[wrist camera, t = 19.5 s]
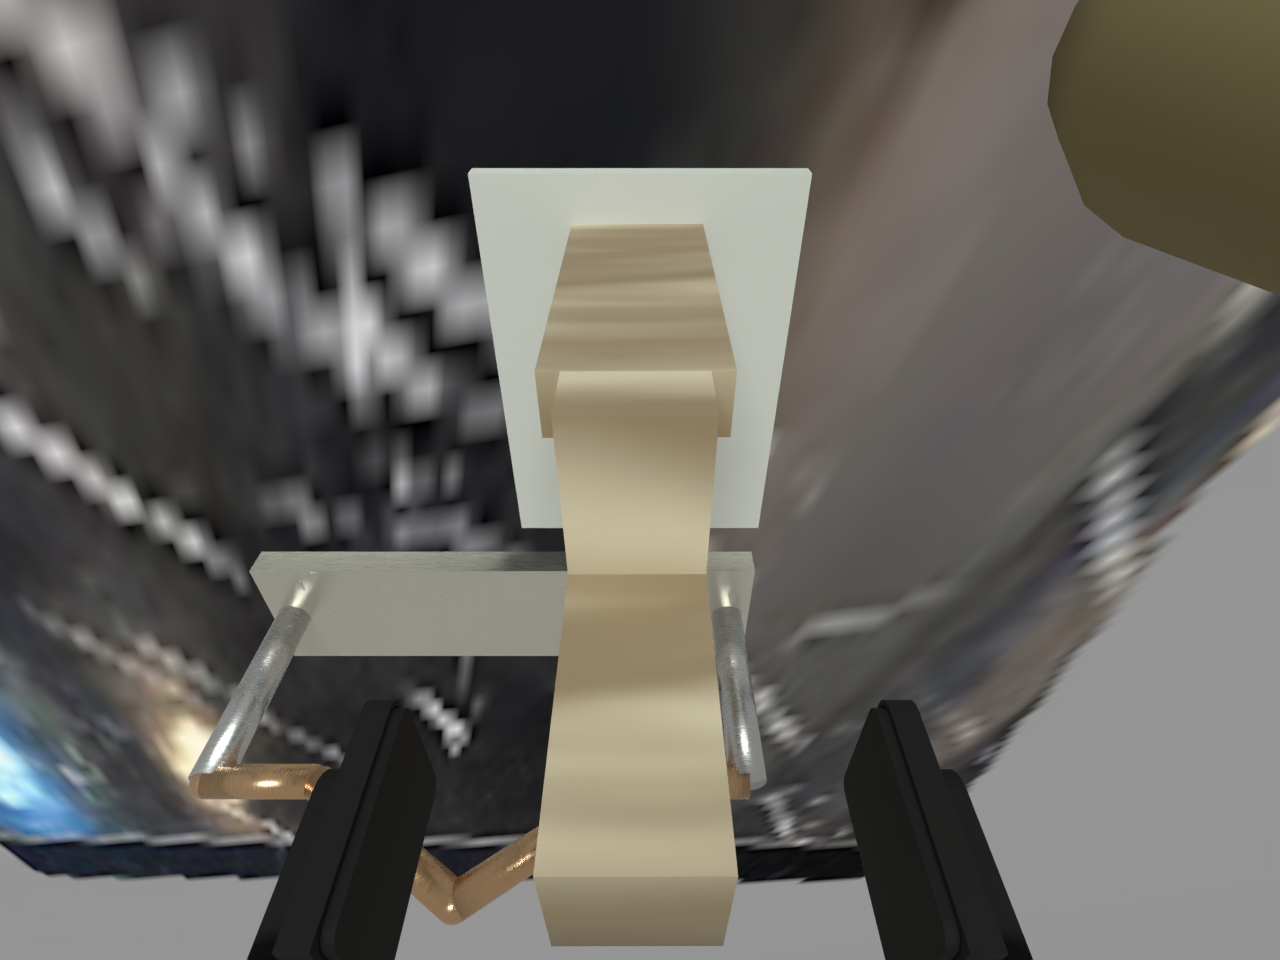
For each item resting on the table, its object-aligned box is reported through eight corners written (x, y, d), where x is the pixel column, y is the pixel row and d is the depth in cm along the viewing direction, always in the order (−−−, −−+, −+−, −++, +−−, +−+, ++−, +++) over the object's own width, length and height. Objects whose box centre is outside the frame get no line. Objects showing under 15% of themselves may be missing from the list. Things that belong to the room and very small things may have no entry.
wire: (261, 551, 30) (49, 886, 19) (751, 551, 30) (813, 886, 19) (304, 636, 33) (147, 955, 23) (738, 636, 33) (784, 955, 23)
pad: (471, 168, 20) (467, 173, 19) (808, 168, 20) (812, 173, 19) (523, 518, 28) (521, 527, 28) (756, 518, 28) (758, 527, 28)
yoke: (571, 224, 20) (445, 721, 7) (703, 223, 20) (817, 721, 7) (590, 503, 27) (545, 1011, 14) (688, 503, 27) (732, 1011, 14)
